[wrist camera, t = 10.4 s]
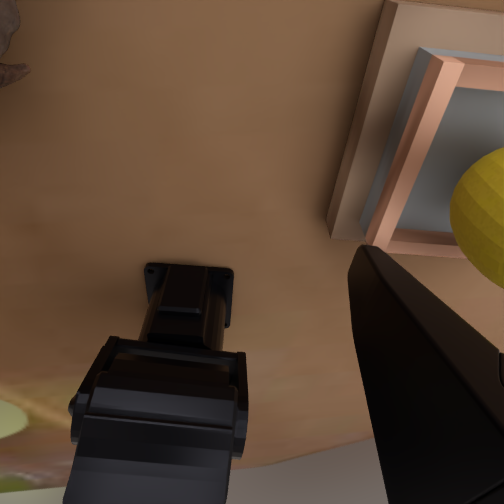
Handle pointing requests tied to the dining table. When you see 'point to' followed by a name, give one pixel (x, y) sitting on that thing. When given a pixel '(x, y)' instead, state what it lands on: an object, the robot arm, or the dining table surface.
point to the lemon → (481, 215)
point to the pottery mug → (3, 26)
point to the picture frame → (419, 126)
